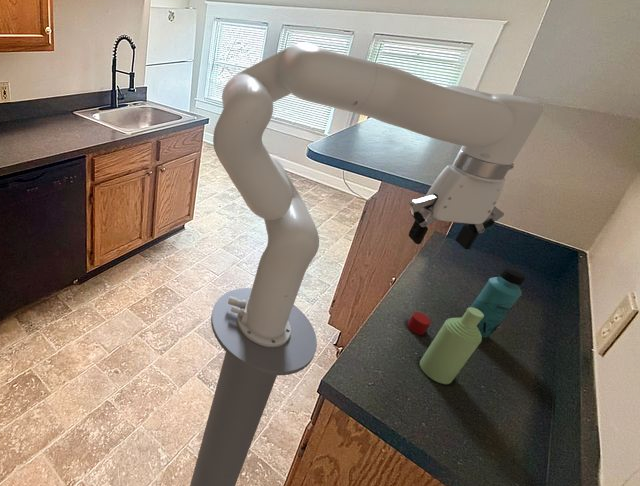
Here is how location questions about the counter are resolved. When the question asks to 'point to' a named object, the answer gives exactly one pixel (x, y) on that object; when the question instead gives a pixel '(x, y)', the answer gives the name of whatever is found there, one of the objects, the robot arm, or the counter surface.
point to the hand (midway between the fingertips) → (437, 242)
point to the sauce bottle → (452, 347)
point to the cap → (419, 323)
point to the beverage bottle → (498, 299)
